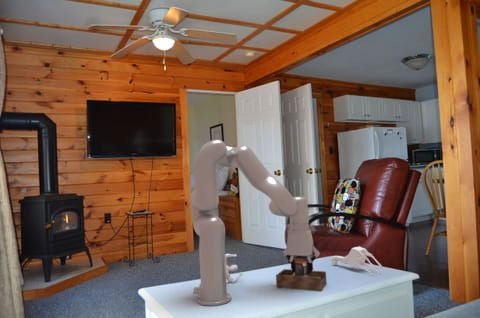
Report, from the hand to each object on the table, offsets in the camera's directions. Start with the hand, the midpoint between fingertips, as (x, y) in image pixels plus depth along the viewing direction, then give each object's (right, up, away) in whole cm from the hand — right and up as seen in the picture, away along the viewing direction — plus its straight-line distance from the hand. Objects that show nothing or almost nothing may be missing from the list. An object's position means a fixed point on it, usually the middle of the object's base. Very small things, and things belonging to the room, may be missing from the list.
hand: (302, 271), depth 149 cm
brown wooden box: (0, -6, 0) cm, 6 cm away
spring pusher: (-3, -5, +1) cm, 6 cm away
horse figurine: (+27, -6, +20) cm, 35 cm away
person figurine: (-34, -9, +8) cm, 36 cm away
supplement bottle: (0, -4, 0) cm, 4 cm away
